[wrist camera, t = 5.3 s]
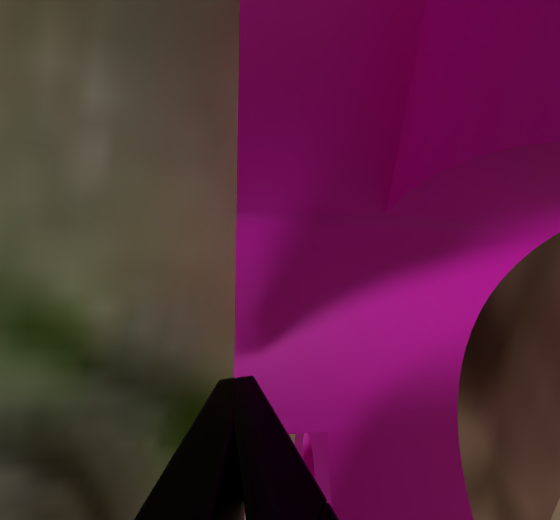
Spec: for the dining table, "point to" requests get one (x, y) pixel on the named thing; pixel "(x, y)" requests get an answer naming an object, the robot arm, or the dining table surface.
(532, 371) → the batten
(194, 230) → the dining table surface
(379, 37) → the toy block
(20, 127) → the dining table surface
